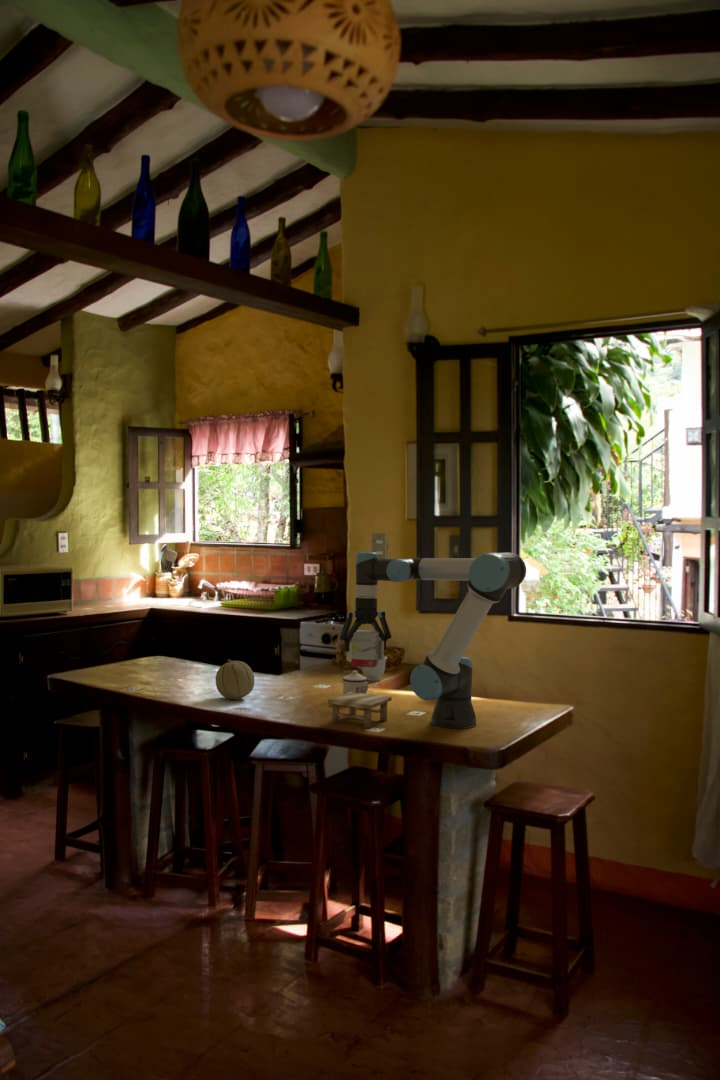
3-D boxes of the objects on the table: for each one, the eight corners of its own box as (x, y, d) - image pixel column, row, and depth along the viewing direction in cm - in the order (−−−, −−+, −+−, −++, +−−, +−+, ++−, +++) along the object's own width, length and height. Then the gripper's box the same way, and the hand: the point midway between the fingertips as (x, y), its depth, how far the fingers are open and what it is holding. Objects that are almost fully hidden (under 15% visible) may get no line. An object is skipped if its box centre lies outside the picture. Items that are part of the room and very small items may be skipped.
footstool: (391, 720, 303) (391, 696, 303) (370, 729, 289) (370, 705, 289) (350, 714, 311) (350, 692, 311) (327, 723, 297) (328, 699, 296)
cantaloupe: (252, 703, 327) (252, 663, 326) (212, 703, 326) (212, 662, 326) (256, 695, 341) (257, 656, 341) (218, 695, 341) (219, 656, 341)
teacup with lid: (355, 705, 327) (355, 673, 327) (337, 701, 333) (337, 670, 333) (376, 700, 336) (377, 670, 336) (358, 697, 342) (359, 667, 342)
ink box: (374, 667, 300) (375, 632, 299) (350, 666, 301) (350, 631, 301) (379, 663, 308) (380, 629, 308) (355, 662, 310) (356, 628, 310)
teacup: (353, 676, 386) (353, 654, 386) (387, 677, 386) (387, 654, 386) (351, 681, 374) (352, 658, 374) (387, 682, 374) (387, 659, 374)
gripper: (392, 595, 313) (390, 656, 313) (330, 596, 303) (329, 660, 303) (402, 597, 306) (400, 660, 306) (339, 598, 296) (337, 663, 296)
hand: (365, 660), depth 305 cm, fingers closed on ink box, 11 cm apart
